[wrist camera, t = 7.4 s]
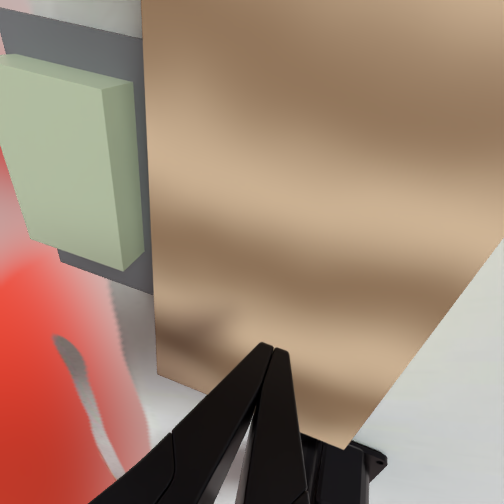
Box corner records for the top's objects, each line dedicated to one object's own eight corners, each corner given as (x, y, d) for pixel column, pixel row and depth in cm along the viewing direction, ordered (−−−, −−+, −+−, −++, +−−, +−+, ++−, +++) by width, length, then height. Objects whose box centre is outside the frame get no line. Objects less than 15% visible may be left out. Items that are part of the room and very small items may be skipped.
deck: (349, 384, 20) (343, 450, 17) (188, 324, 22) (157, 374, 19) (606, -41, 8) (741, -80, 5) (210, -97, 10) (134, -151, 7)
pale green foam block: (30, 238, 19) (57, 222, 20) (123, 271, 18) (144, 251, 19) (-29, 57, 13) (15, 53, 15) (101, 89, 12) (133, 81, 14)
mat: (182, 302, 21) (180, 305, 21) (63, 259, 22) (60, 261, 22) (190, 49, 13) (187, 50, 12) (0, 7, 14) (-7, 7, 14)
